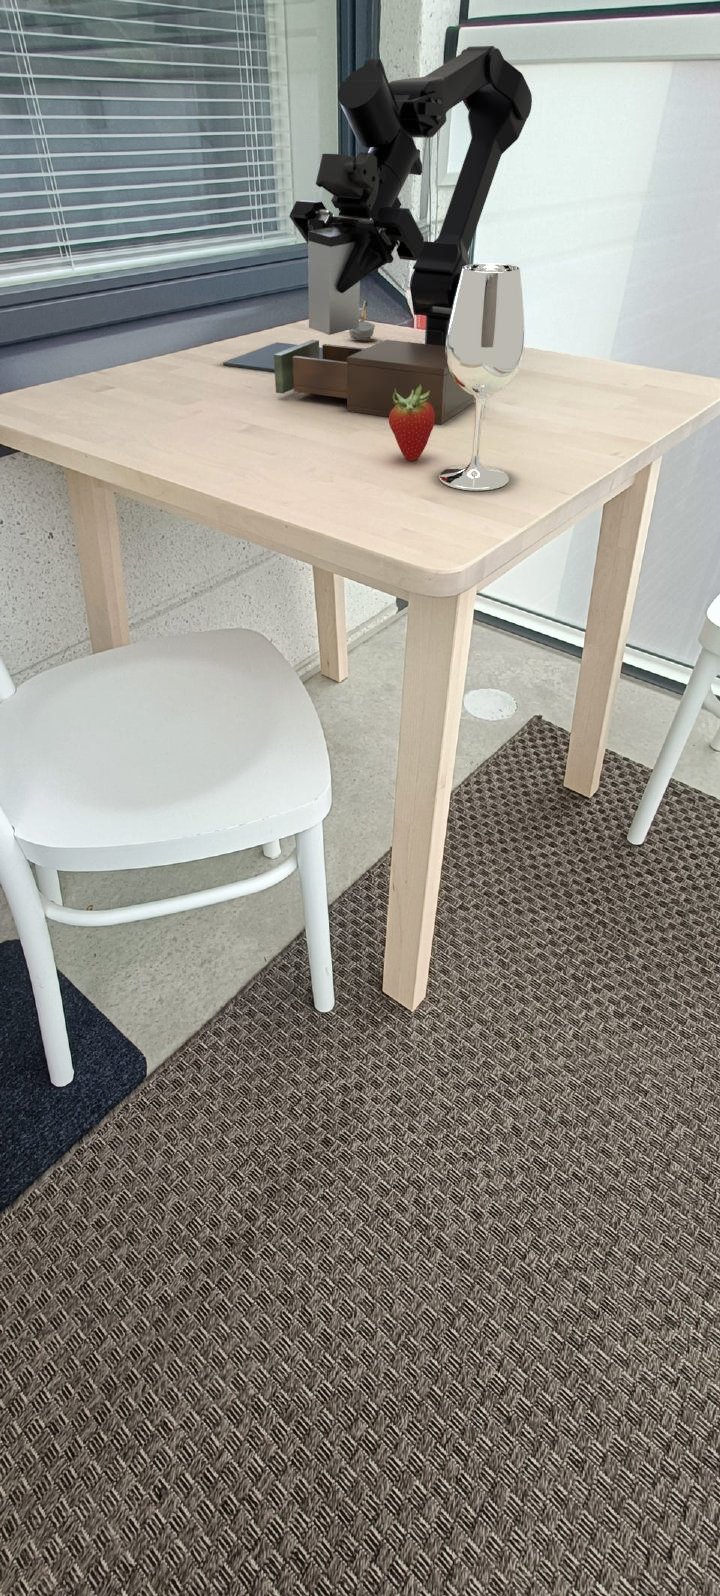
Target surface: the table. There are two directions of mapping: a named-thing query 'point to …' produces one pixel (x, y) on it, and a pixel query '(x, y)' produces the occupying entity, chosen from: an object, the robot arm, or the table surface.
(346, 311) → the grey canister
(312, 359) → the drawer
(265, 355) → the mat
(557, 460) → the table surface
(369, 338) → the figurine
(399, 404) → the fruit
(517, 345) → the wineglass
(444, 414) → the cabinet
